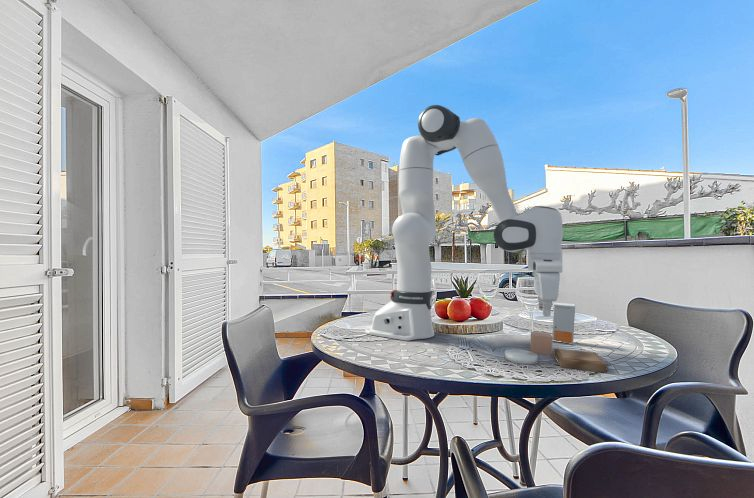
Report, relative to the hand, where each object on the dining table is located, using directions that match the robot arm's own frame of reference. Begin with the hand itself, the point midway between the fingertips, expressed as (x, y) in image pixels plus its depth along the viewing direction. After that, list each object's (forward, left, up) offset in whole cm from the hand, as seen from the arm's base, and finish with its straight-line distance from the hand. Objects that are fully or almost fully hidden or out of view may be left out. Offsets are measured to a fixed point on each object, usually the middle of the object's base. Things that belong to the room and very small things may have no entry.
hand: (544, 312), depth 105 cm
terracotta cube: (-1, 0, -11) cm, 11 cm away
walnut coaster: (+7, -8, -11) cm, 15 cm away
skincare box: (+7, +14, -11) cm, 20 cm away
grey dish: (-7, -10, -11) cm, 16 cm away
